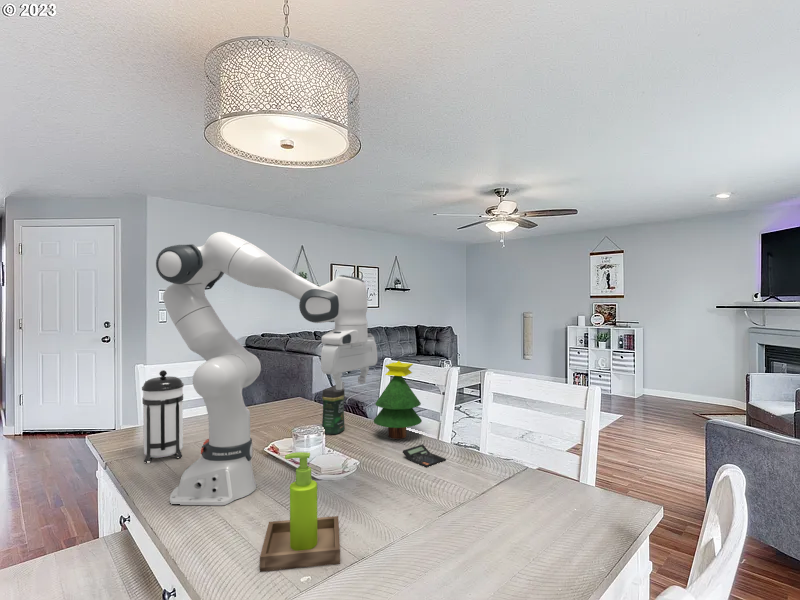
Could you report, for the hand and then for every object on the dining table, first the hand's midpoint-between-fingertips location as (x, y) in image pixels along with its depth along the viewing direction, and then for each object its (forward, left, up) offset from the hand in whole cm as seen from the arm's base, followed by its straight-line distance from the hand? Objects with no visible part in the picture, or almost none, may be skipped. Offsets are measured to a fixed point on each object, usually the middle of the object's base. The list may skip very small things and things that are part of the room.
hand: (351, 386), depth 119 cm
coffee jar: (-4, +62, -31) cm, 70 cm away
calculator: (+26, +26, -32) cm, 49 cm away
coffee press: (-62, +43, -31) cm, 82 cm away
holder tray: (-12, -21, -31) cm, 39 cm away
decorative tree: (+21, +52, -31) cm, 64 cm away
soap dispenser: (-12, -21, -30) cm, 39 cm away
